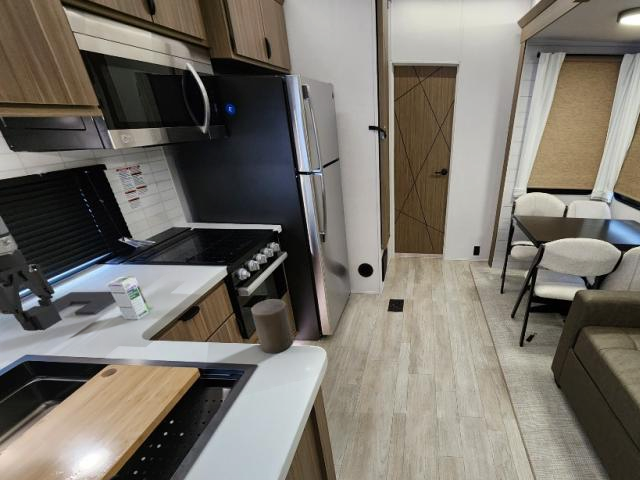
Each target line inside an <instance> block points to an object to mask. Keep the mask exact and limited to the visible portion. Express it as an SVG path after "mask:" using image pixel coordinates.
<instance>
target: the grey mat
mask: <svg viewBox="0 0 640 480" xmlns="http://www.w3.org/2000/svg"><path fill="white" fill-rule="evenodd" d="M52 303H53V304H54V306H55V308H56V310H57V311H58V313H60V312H62V311H64V310H65V309H67V308H69V307H71V306H74V305H83V306H81V307H80V308H78V309H77V310H75V311H74V315H75V316H94V315H97V314H98V313H100V312H102V311H103V310H105V309H107V308H109V307H110V306H111V305H113V304H114V303H116V301H115V299H114V297H113V295H112V293H111V291H71V292H68V293H66V294H64V295H63V296H61V297H59V298H57V299H55V300H53V301H52Z"/></svg>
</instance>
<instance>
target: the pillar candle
mask: <svg viewBox="0 0 640 480" xmlns="http://www.w3.org/2000/svg"><path fill="white" fill-rule="evenodd" d="M250 310H251V314H252V319H253V323H254V326H255V330H256V333H257V338H258V341H259V346H260V348H261V350H262V352H264V351H265V352H264V353H267V354H279V353H281V352H285V351H287V350H288V349H290V348H291V347H292V345H293V343H294V338H293V333H292V330H291V328H292V327H291V323H290V320H289V315H288V310H287V305H286V302H285V301H284V300H282V299H278V298H271V299H270V298H269V299H265V300H262V301H259V302H257V303H255V304H254V305H253V306H252V307H251V308H250ZM290 346H291V347H290ZM278 352H279V353H278Z"/></svg>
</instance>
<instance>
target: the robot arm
mask: <svg viewBox="0 0 640 480" xmlns="http://www.w3.org/2000/svg"><path fill="white" fill-rule="evenodd" d="M18 247H19V246H18V244H17V242H16V241H15V239H14V237H13V236H12V234H11V233H10V231H9V228H8V227H7V225H6V223H5V221H4V220H3V218H2V216H1V215H0V313H1V314H2V315H13V316H14V318H15V319H16V321H17V322H18V323H19V324H20V323H22V324H23V325H24V327H25V328H26V330H25V331H27V332H37V331H40V330H39V329H38V328H37V326H36V325H35V323H34V321H33V320H32V318H31V317H30V315H29V313H28V312H27V311H26V310H24V309H23V305H22V300H21V295H20V291H19V289H20V284H22V285H24V287H26V289H28V290H29V291H30V292H32V294H33V295H34V296H36V297H37V298H38V300H37V303H38V306H54V304H53V303H52V302H53V301H52V300H53V298H54V296H53V295H54V294H55V290H54V288H53V287H52V285H51V284H50V282H49V280H48V279H47V278H46V276H45V274H44V273H43V272H42V267H41V265H40V264H39V263H38V264H37V263H36V264H34V263H32V264H31V263H30V264H27V263H26V262H27V260H26V258H25V256H24V255H23V253H22V251H21V250H20V249H18Z"/></svg>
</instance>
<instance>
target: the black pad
mask: <svg viewBox="0 0 640 480" xmlns="http://www.w3.org/2000/svg"><path fill="white" fill-rule="evenodd" d="M25 311H27V312H28V313H29V315H30V317H31V318H32V320H33V321H34V323H35V325H36V326H37V328H38V329H39V330H38V331H46V330H47V329H49V328H51V327H53V326H54V325H56V324H57V323H59V322H62V321H63V318H62V317H61V314H60V312H58V311H57V310H56V308H55V306H40V305H34V306H32V307H30V308H27V309H26V310H25ZM19 324H20V326H21V327H22V329H23V331H27V330H26V328H25V327H24V325H23V324H22V323H19Z"/></svg>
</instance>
